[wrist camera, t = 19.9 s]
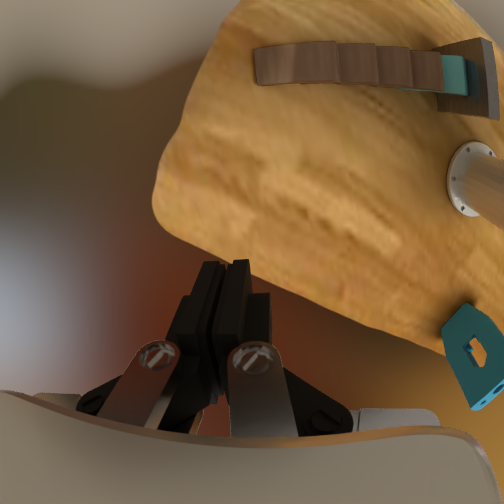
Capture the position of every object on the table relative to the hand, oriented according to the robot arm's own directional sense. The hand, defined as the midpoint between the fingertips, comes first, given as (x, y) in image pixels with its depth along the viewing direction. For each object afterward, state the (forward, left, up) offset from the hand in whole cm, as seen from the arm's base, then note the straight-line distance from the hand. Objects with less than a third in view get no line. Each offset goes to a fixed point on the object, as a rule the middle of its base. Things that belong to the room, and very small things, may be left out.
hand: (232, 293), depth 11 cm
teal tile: (-20, -13, -29) cm, 37 cm away
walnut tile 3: (-11, -13, -28) cm, 33 cm away
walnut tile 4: (-16, -13, -28) cm, 35 cm away
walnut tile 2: (-6, -13, -28) cm, 32 cm away
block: (-40, +32, -29) cm, 59 cm away
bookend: (-28, -13, -29) cm, 42 cm away
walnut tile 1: (-1, -13, -28) cm, 31 cm away
